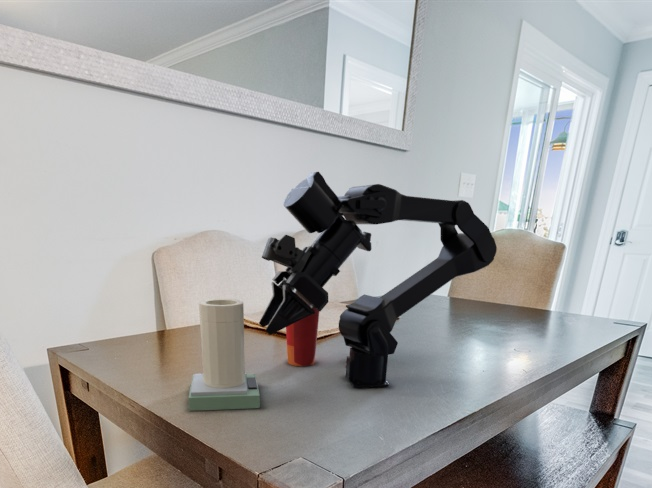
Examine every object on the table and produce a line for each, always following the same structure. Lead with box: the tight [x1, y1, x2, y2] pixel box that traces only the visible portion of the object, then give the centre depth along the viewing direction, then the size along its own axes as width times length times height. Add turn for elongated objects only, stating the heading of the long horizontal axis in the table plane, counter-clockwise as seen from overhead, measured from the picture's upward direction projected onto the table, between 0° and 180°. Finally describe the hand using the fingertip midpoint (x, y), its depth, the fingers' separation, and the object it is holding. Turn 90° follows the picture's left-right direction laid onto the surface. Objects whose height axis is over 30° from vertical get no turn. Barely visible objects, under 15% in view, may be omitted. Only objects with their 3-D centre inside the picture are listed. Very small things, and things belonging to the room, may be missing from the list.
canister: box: [198, 298, 246, 388], centre depth 74 cm, size 7×7×13 cm
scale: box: [187, 372, 261, 412], centre depth 77 cm, size 11×11×3 cm
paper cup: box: [285, 308, 320, 367], centre depth 94 cm, size 8×8×14 cm
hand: (264, 328), depth 75 cm, fingers open, 9 cm apart
